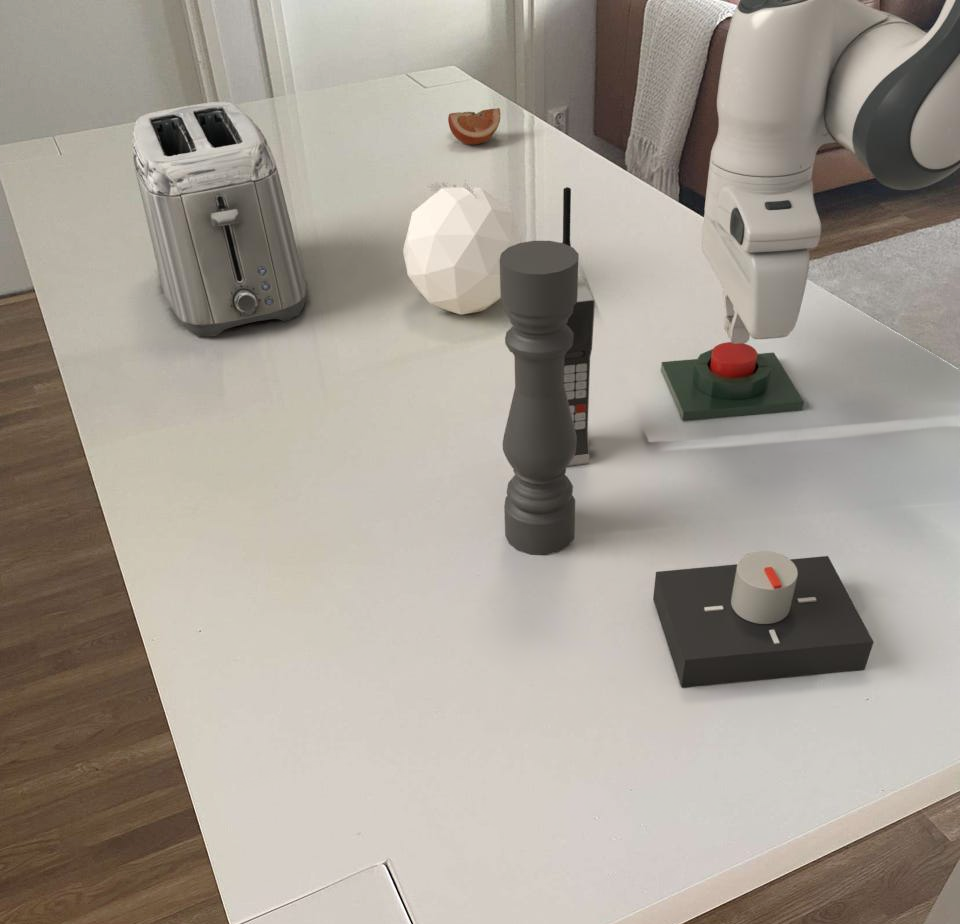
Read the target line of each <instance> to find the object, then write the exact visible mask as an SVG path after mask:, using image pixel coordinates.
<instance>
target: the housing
mask: <svg viewBox="0 0 960 924" xmlns="http://www.w3.org/2000/svg"><path fill="white" fill-rule="evenodd" d="M712 350H713V348H711V349H709V350H707V351H705V352H701V353H700V354H699V355H698V357H697V358H694V359H693V358H692V359H680V360H671V361H670V360H668V361H661V364H660V372H661V375H662V377H663V380H664V381H665V384H666V386H667V389H668V391H669V393H670V396H671V398H672V400H673V402H674V405H675V407H676V409H677V412H678V415H679V416H680V418H681V421H682V422H688V421H697V420H698V421H699V420H711V419H725V418H733V417H734V418H735V417H736V418H737V417H747V416H756V415H757V416H758V415H768V414H769V415H770V414H781V413H792V412H793V413H794V412H802V411H803V409H804V404H805V400H804V399H803V398H802V396H801V394H800V393H799V391H798V389H797V387H796V386H795V384H794V383H793V381H792V379H791V377H790V376H789V374H788V373H787V371H786V370H785V368H784V367H783V365H782V362H781V361H780V360H779V358H778V356H777V355H776V354H775V352H761V353H758V352H757V360H756V366H755V371H754V373H753V374H752V375H750V376H748V377H742V378H729V377H724V376H719V375H718V374H716V373H714V372H712V371H711V369H710V364H711V356H712Z"/></svg>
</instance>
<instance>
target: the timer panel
mask: <svg viewBox="0 0 960 924" xmlns="http://www.w3.org/2000/svg"><path fill="white" fill-rule="evenodd" d="M789 559H790V558H789ZM790 560H791V561H792V562H793V563H794V564H795V566H796V568H797V571H798V577H797V581H796V585H795V590H794V594H793V598H792V603H791V607H790V611H789V613H788V615H787V616H786V617H785V618H784V619H782V620H781V621H779V622H776V623H772V624H758V623H753V622H750V621H747V620H745V619H743V618H741V617H740V616H739V615H738V614H736V612H735V611H734V610H733V608H732V605H731V598H732V592H733V586H734V580H735V575H736V569H737V564H738V563H736V564H725V565H715V566H704V567H703V566H702V567H693V568H682V569H671V570H661V571H656V572H655V577H654V586H653V587H654V588H653V598H652V599H653V604H654V606H655V609H656V614H657V616H658V619H659V622H660V626H661V628H662V631H663V634H664V637H665V641H666V643H667V647H668V650H669V653H670V657H671V659H672V664H673V666H674V669H675V672H676V675H677V678H678V682H679V685H680V688H682V689H683V688H691V687H702V686H715V685H724V684H725V685H726V684H731V683H732V684H733V683H746V682H755V681H763V680H764V681H765V680H766V681H767V680H775V679H776V680H777V679H786V678H795V677H806V676H817V675H826V674H827V675H828V674H837V673H847V672H856V671H857V672H858V671H865V670H866V668H867V664H868V661H869V658H870V654H871V652H872V648H873V645H874V639H873V638H872V636H871V634H870V632H869V631H868V629H867V626H866V625H865V623H864V621H863V619H862V617H861V615H860V613H859V611H858V610H857V607H856V606H855V604H854V602H853V600H852V598H851V596H850V594H849V593H848V591H847V588H846V587H845V585H844V583H843V581H842V580H841V577H840V576H839V574H838V572H837V570H836V568H835V566H834V565H833V563H832V561H831V559H830V557H829V555H823V556H812V557H801V558H791V559H790Z"/></svg>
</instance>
